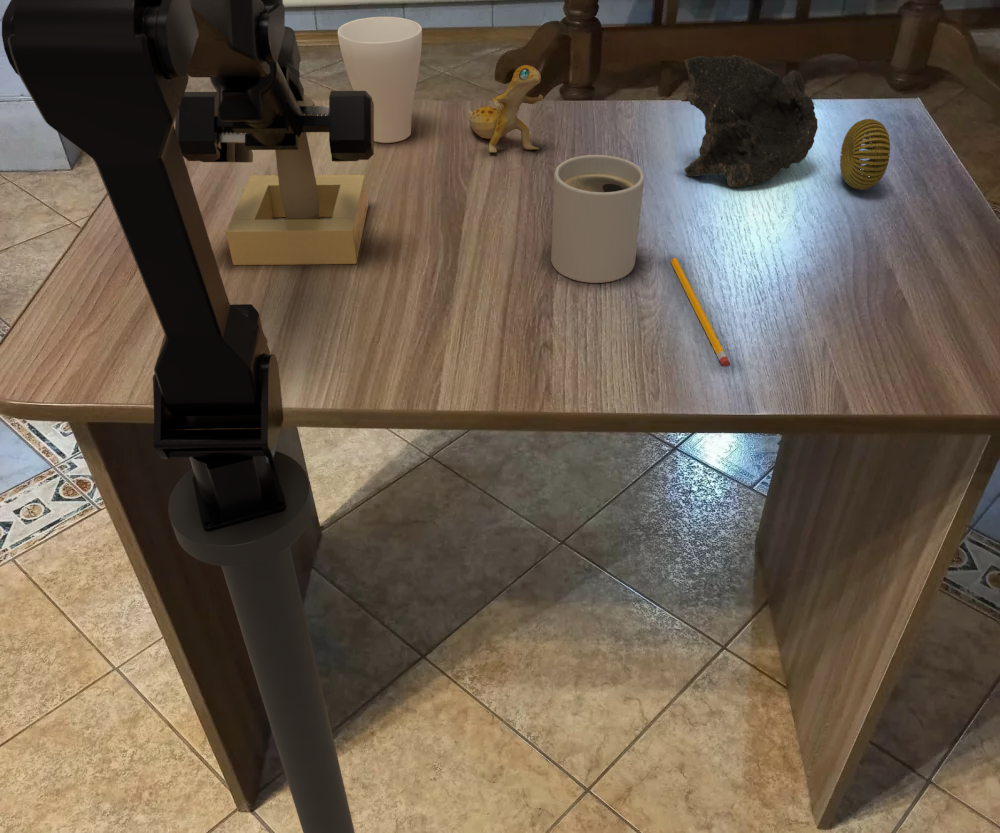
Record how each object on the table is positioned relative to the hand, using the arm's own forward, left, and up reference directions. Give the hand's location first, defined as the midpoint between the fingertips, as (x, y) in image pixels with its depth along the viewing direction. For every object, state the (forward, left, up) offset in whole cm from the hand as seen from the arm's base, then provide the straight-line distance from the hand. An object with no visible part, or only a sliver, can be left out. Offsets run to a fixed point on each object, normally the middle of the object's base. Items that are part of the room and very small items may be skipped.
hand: (294, 157), depth 96 cm
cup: (+21, -16, -9) cm, 28 cm away
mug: (-18, -27, -9) cm, 33 cm away
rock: (-5, -54, -9) cm, 55 cm away
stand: (-1, +1, -8) cm, 8 cm away
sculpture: (-15, -64, -9) cm, 66 cm away
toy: (+13, -28, -9) cm, 32 cm away
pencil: (-31, -32, -9) cm, 45 cm away
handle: (-2, 0, -9) cm, 9 cm away
